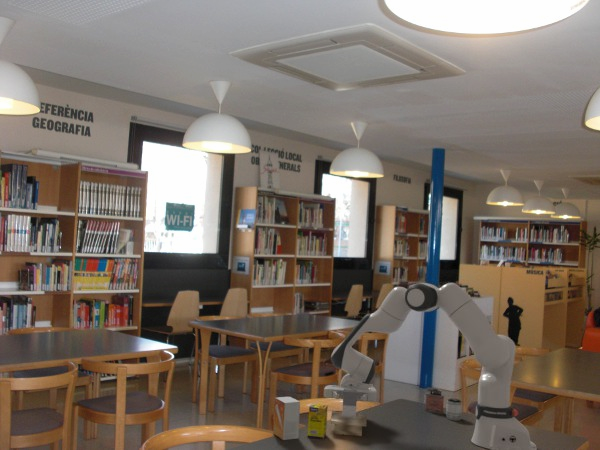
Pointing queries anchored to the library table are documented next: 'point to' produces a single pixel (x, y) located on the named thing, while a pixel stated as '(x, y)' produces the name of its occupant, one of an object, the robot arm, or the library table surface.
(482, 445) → the robot arm
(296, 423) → the small box
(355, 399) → the block
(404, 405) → the library table surface
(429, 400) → the lighter
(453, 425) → the library table surface
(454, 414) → the camera lens
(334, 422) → the birch stand
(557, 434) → the library table surface
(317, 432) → the supplement box
